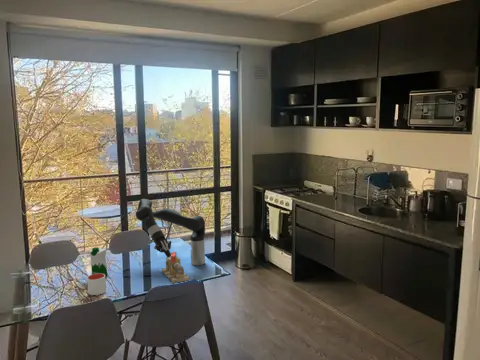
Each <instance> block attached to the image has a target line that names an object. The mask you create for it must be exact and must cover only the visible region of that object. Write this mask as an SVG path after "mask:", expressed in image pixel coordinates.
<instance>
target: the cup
mask: <svg viewBox="0 0 480 360" xmlns="http://www.w3.org/2000/svg"><path fill="white" fill-rule="evenodd" d="M86 279H87V280H86V282H87V290H88V291H87V292H88V294H89V295H90V296H93V295H96V296H101V295H103V294H105V293H106V291H107V281H106V280H107V279H106V277H105V275H104V274H100V273H99V274H93V275H92V274H90V275H88V276H87V277H86ZM100 294H101V295H100Z"/></svg>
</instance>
